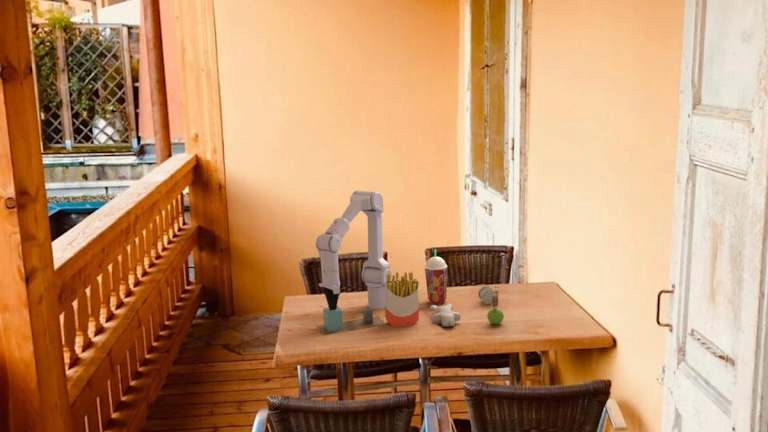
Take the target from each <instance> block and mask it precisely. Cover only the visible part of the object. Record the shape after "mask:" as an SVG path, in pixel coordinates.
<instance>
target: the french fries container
mask: <svg viewBox="0 0 768 432" xmlns="http://www.w3.org/2000/svg"><path fill="white" fill-rule="evenodd" d="M403 273H404V274H403V275H402V276H400V277H399V271H396V272H395V274H392V278H391V281H390V274H387V281H386V300H385V308H384V310H385V311H384V312H385V313H384V314H385V315H384V317H385V320H386V322H387V323H389V325H391V326H392V327H393V326H406V325H408V326H409V325H414V324H416V323H417V322H418V321H419V320H420V319H419V317H420V316H419V315H420V307H419V306H420V305H419V286H420V285H419V284H420V283H419V280H418V279H417V277H415V278H414V275H413V274H414V272H413V271H408V274H407V272H406V271H404V272H403Z"/></svg>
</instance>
